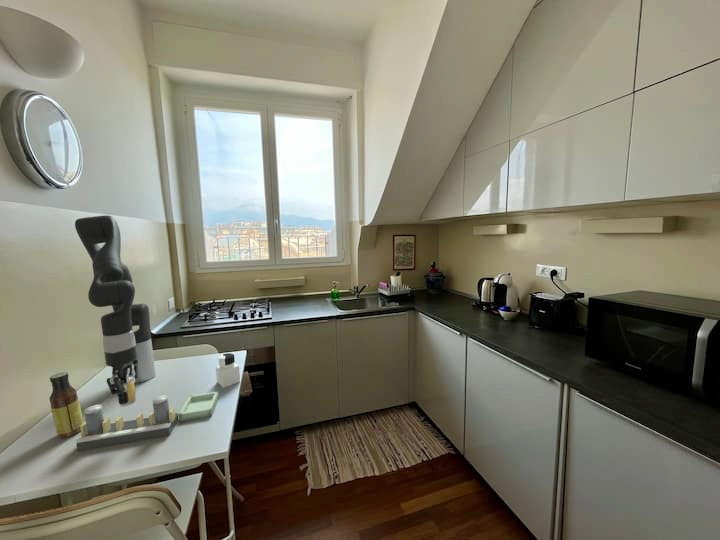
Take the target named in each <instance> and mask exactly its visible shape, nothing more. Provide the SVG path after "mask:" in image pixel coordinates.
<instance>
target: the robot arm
mask: <svg viewBox="0 0 720 540" xmlns="http://www.w3.org/2000/svg"><path fill="white" fill-rule="evenodd" d="M74 227H75V231H76V233H77V235H78V237H79V239H80V241H81V243H82V245H83V246H84V248H85V250H86V251H87V254H88V255H89V258H90V259H91V261H92V270H93V271H92V272H93V280H92V282H91V284H90V287H89V289H88V294H87V295H88V296H87V298H88V301H89V303H90V304H91V305H93V306H94V307H97V308H105V307H110V306H111V307H112V310H113V311H111V312H109V313H107V314H104V315H102V316H101V318H100V326H101V331H102V346H103V347H102V348H103V352H104V359H105V364H106V365H107V366H109V367H111V368H112V372H111V377H108V378H106V383H107V386H108V388H109V391H110V393H111V394H112V395H117V398H118V404H119V405H120V404H126V403H127V402H128V401H129V400H128V393H127V383H128V382H129V376H130V375H131V376H133V381H134V388H135V389H136V386H135V385H136V384H137V383H142V382H147V381H149V380H151V379H153V378H154V377H155V376H156V368H155V360H154V359H155V358H154V351H153V350H154V349H153V344H152V335H151V322H150V321H151V320H150V309H149V306H148V305H147V304H146V303H135V304H134V303H133V302H134V299H135V293H136V288H135V286H134V284H133V278H132V274H131V272H130V270H129V268H128V266H127V264H125V263H124V262H122V260H121V250H122V249H121V239H122V238H121V232H120V231H121V230H120V227H119V225H118V221H117V220H116V218H115V217H114V216H112V215H97V216H88V217H87V216H86V217H81V218H77V219H76V220H75V221H74ZM99 244H104V245H102V246H101V247H100V245H99ZM136 326H138V327H139V328H138V329H137V330H136V331H134V329H133V327H136ZM120 380H125V381H123V382H120ZM122 385H123V387H122ZM136 393H137V392H136V391H135V394H136Z"/></svg>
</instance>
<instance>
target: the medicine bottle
mask: <svg viewBox="0 0 720 540" xmlns="http://www.w3.org/2000/svg"><path fill="white" fill-rule="evenodd" d="M215 373H216V383H218V385H220V386H221V388H222V389H224V388H228V387H230V386H233V385H235V384H238V383H240V382H241V375H240V374H241V373H240V366H239V365H238V364H237V363H236V361H235V354H234V353H231V352H229V353H223V354H221V355H219V356H218V365H217V366H215Z"/></svg>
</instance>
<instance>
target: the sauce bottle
mask: <svg viewBox="0 0 720 540" xmlns="http://www.w3.org/2000/svg"><path fill="white" fill-rule="evenodd" d="M68 373H69V372H67V371H62V372H57V373H54V374H52V375H51V376H49V382H50V383H51V387H52V392H51V394H50V396H49V402H50V409H51V413H52V418H53V422H54V425H55V429H56V434H57V436H58V437H59V438H67V437H71V436H74V435H76V434H79V433H81V430H80V426H81V425H82V424H83V423H84V418H83V413H82V410H81V409H82V408H81V404H80V400H79V397H78V394H77V390H76V388H74V387H73V386H72V385H71V384H70V380H69V374H68Z"/></svg>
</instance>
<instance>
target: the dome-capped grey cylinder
mask: <svg viewBox="0 0 720 540" xmlns="http://www.w3.org/2000/svg"><path fill="white" fill-rule="evenodd" d="M83 412H84V419H85V422H86V427H87V433H88V436H92V435H99V434H102V433H103V426H102V423H103V422H104V421H105V419H104V411H103V405H102V404H95V405H92V406H89V407H87V408H85V409H84V410H83Z"/></svg>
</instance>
